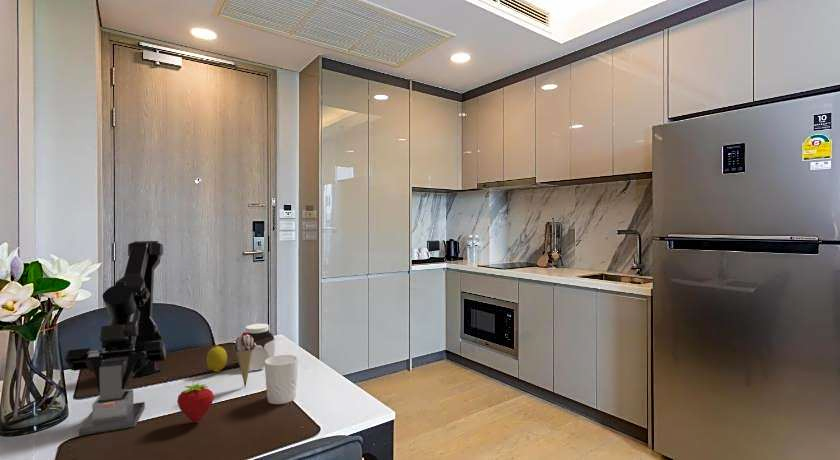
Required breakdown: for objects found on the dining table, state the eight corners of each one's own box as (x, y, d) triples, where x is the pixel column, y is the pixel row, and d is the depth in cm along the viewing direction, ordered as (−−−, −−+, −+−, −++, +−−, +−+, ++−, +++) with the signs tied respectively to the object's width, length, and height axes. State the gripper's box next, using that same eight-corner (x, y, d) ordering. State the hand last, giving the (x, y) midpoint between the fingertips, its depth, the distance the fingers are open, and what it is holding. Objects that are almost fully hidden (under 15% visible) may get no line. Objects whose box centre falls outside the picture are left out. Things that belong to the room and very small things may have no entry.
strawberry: (206, 429, 93) (205, 383, 92) (171, 429, 93) (170, 383, 92) (219, 416, 99) (218, 373, 98) (186, 416, 99) (186, 373, 98)
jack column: (105, 411, 98) (104, 361, 97) (126, 408, 99) (126, 359, 99) (100, 419, 94) (99, 367, 93) (122, 415, 95) (121, 365, 95)
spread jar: (264, 356, 142) (263, 321, 141) (285, 363, 135) (285, 326, 135) (229, 366, 132) (229, 329, 132) (251, 374, 125) (250, 334, 125)
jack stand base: (94, 415, 99) (93, 391, 99) (144, 408, 103) (144, 385, 103) (78, 435, 90) (78, 409, 90) (135, 426, 94) (134, 401, 94)
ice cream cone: (261, 385, 117) (260, 330, 117) (244, 393, 112) (244, 336, 111) (245, 382, 119) (245, 328, 119) (228, 389, 114) (228, 333, 114)
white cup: (304, 395, 111) (303, 356, 111) (285, 407, 103) (284, 366, 103) (278, 391, 113) (278, 353, 113) (258, 403, 106) (257, 362, 106)
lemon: (219, 376, 124) (218, 349, 123) (202, 375, 125) (202, 347, 124) (231, 370, 129) (231, 343, 129) (215, 368, 130) (214, 342, 130)
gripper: (66, 313, 96) (47, 379, 86) (163, 306, 103) (155, 367, 93) (79, 339, 103) (63, 402, 94) (169, 331, 111) (162, 389, 101)
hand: (111, 389), depth 95 cm, fingers closed on jack column, 4 cm apart
